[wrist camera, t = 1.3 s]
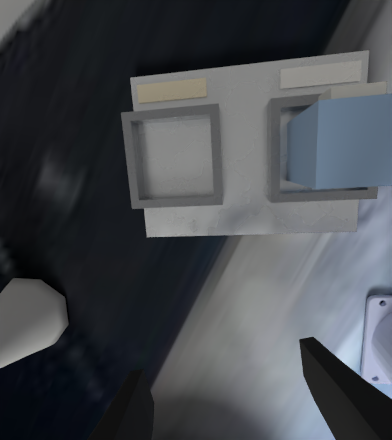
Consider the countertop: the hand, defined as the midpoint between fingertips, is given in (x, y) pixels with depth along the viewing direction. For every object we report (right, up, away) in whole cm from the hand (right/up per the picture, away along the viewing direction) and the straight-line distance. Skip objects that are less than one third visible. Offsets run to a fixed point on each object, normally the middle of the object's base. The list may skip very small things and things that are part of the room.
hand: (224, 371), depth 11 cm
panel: (+2, +12, +8) cm, 15 cm away
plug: (+7, +12, +6) cm, 15 cm away
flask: (-17, -2, +14) cm, 22 cm away
